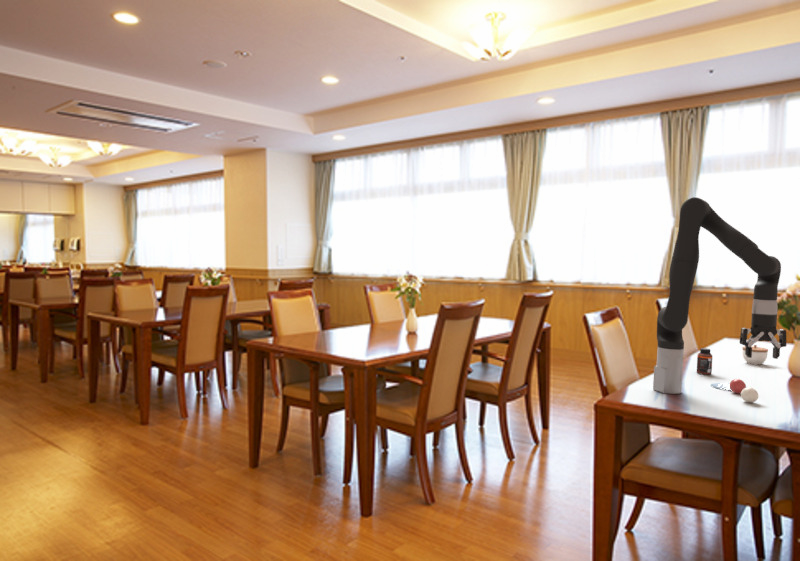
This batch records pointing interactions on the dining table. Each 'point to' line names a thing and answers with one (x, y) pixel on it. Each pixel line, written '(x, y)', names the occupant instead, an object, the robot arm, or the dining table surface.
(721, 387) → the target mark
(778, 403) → the dining table surface
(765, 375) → the dining table surface
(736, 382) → the red ball
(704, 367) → the supplement bottle
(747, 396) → the cue ball
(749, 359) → the lidded jar
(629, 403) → the dining table surface
